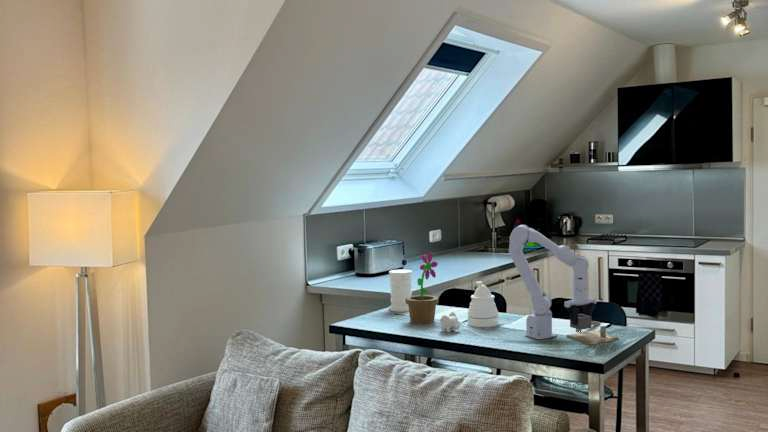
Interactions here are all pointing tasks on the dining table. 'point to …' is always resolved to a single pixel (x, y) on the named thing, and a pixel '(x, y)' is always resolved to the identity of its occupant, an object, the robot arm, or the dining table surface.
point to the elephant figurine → (449, 323)
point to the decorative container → (400, 289)
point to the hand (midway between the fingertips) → (580, 323)
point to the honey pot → (482, 308)
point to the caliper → (592, 324)
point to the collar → (582, 322)
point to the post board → (593, 336)
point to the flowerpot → (423, 297)
